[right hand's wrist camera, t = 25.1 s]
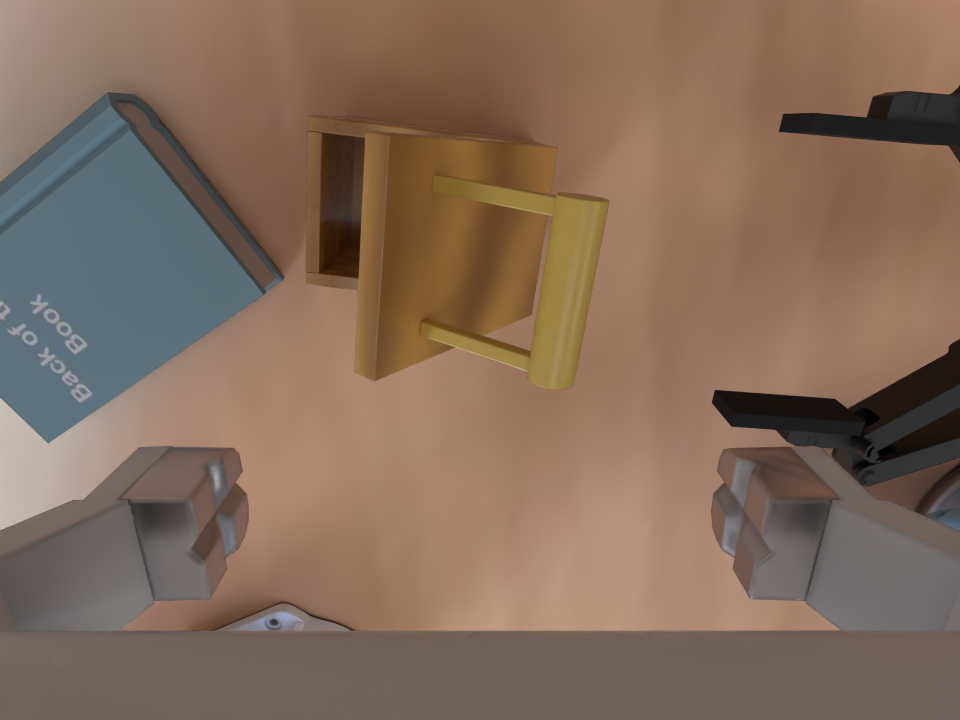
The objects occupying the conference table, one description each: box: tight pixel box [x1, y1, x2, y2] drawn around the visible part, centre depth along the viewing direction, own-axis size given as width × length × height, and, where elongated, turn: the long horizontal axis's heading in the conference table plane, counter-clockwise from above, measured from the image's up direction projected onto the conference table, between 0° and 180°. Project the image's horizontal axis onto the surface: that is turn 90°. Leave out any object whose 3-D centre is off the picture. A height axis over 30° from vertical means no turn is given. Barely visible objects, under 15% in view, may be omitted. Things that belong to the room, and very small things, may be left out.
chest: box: [306, 115, 546, 290], centre depth 41 cm, size 14×10×11 cm
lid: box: [354, 131, 609, 390], centre depth 28 cm, size 15×10×9 cm
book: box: [0, 93, 284, 443], centre depth 46 cm, size 23×16×5 cm
